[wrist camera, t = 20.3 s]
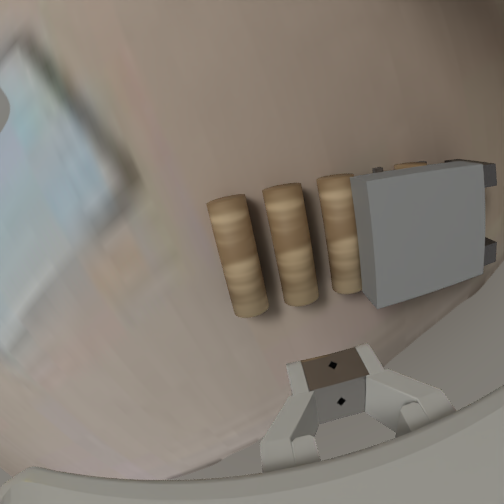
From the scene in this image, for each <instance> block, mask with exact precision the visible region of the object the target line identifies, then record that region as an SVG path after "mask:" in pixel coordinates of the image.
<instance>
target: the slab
mask: <svg viewBox="0 0 504 504" xmlns="http://www.w3.org/2000/svg"><path fill="white" fill-rule="evenodd" d="M350 183H351V190H352V197H353V204H354V211H355V219H356V228H357V236H358V246H359V256H360V266H361V278H362V292H363V293H364V294H365V295H366V296H367V298H368V299H369V300H370V301H371V302H372V304H373V305H374V306H375V307H376V308H377V309H379V308H383V307H386V306H389V305H393V304H396V303H399V302H402V301H406V300H409V299H412V298H415V297H418V296H421V295H424V294H427V293H430V292H433V291H436V290H439V289H442V288H445V287H448V286H451V285H453V284H456V283H459V282H462V281H464V280H467V279H470V278H473V277H475V276H478V275H481V274H483V267H484V250H485V188H484V172H483V164H480V163H472V162H464V161H455V162H447V163H440V164H432V165H425V166H418V167H411V168H404V169H397V170H391V171H384V172H378V173H372V174H366V175H360V176H354V177H350Z"/></svg>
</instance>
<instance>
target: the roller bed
mask: <svg viewBox="0 0 504 504" xmlns="http://www.w3.org/2000/svg"><path fill="white" fill-rule="evenodd" d="M419 162H424V163H427V162H426V161H419ZM378 172H383V168H381V167H377V168H373V173H378ZM350 177H354V174H336V175H330V176H325V177H321V178H318V179H316V180H317V186H318V192H319V197H320V203H321V210H322V216H323V222H324V229H325V235H326V242H327V249H328V257H329V264H330V272H331V280H332V288H333V290H334V291H335V292H337V293H341V294H352V293H356V292H359V291H361V290H362V278H361V266H360V256H359V246H358V236H357V228H356V219H355V211H354V204H353V197H352V190H351V183H350ZM262 192H263V197H264V202H265V206H266V211H267V216H268V221H269V226H270V231H271V236H272V241H273V246H274V251H275V256H276V261H277V266H278V271H279V276H280V281H281V286H282V291H283V297H284V301H285V303H286V304H288V305H290V306H304V305H308V304H311V303H313V302H314V301H316V300H317V299H318V297H319V292H318V285H317V278H316V271H315V265H314V258H313V252H312V245H311V239H310V233H309V227H308V221H307V215H306V209H305V204H304V198H303V193H302V187H301V183H289V184H283V185H277V186H273V187H269V188H266V189H264V190H262ZM207 208H208V212H209V216H210V220H211V224H212V228H213V232H214V236H215V240H216V244H217V248H218V252H219V256H220V260H221V264H222V268H223V271H224V275H225V279H226V283H227V286H228V290H229V294H230V298H231V301H232V305H233V309H234V312H235V315H236V316H238V317H242V318H250V317H255V316H258V315H260V314H262V313H264V312H265V311H267V309H268V308H269V302H268V298H267V293H266V289H265V284H264V279H263V275H262V270H261V266H260V261H259V256H258V252H257V247H256V243H255V238H254V234H253V229H252V224H251V220H250V215H249V211H248V206H247V202H246V197H245V194H238V195H231V196H227V197H222V198H219V199H215V200H213V201H210V202H208V203H207Z"/></svg>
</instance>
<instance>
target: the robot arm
mask: <svg viewBox="0 0 504 504" xmlns="http://www.w3.org/2000/svg"><path fill="white" fill-rule="evenodd" d="M286 367H287V372H288V377H289V382H290V387H291V392H292V396H289V397H288V399H287V400H286V402H285V404H284V406H283V407H282V409H281V411H280V412H279V414H278V416H277V417H276V419H275V420H274V422H273V424H272V425H271V427H270V428H269V430H268V432H267V433H266V435H265V436H264V438H263V440H262V441H261V443H260V450H261V460H262V471H263V473H258V474H250V475H242V476H233V477H223V478H211V479H197V480H195V479H194V480H133V479H117V478H105V477H96V476H87V475H80V474H73V473H67V472H61V471H55V470H50V469H46V468H42V467H35V466H33V467H29V468H27V469H25V470H23V471H22V472H20V473H18V474H17V475H15V476H14V477H13V478H11V479H10V480H8V481H7V482H5V483H4V484H3V485H2V486H1V487H0V504H504V385H503V386H501V387H499V388H498V389H496V390H494V391H493V392H491V393H489V394H488V395H486V396H484V397H482V398H481V399H479V400H477V401H475V402H474V403H472V404H470V405H468V406H466V407H464V408H462V409H460V410H458V411H456V409H455V408H454V407H453V405H452V404H451V402H450V401H449V399H448V398H447V397H446V395H445V394H444V392H443V391H442V390H441V389H439V388H436V387H433V386H431V385H428V384H426V383H423V382H420V381H418V380H416V379H413V378H410V377H408V376H405V375H403V374H400V373H398V372H396V371H393V370H391V369H386V370H385V369H384V368H383V366H382V364H381V363H380V361H379V359H378V358H377V356H376V355H375V353H374V351H373V350H372V348H371V347H370V345H369V344H368V343H365V344H362V345H358V346H355V347H354V348H349V349H346V350H342V351H339V352H335V353H332V354H328V355H324V356H319V357H315V358H311V359H306V360H301V362H300V361H298V362H293V363H288V364H286ZM361 412H365V413H367V414H368V415H370V416H371V417H373V418H374V419H376V420H377V421H379V422H380V423H382V424H383V425H385V426H387V427H388V428H390V429H391V430H393V431H394V432H396V436H395V438H394V439H392V440H389V441H386V442H383V443H380V444H377V445H374V446H371V447H368V448H365V449H362V450H359V451H356V452H352V453H349V454H346V455H342V456H338V457H335V458H331V459H327V460H323V461H321V459H320V456H319V452H318V448H317V445H316V441H315V434H316V432H317V429H318V427H319V424H322V423H326V422H329V421H332V420H336V419H339V418H343V417H347V416H350V415H354V414H358V413H361Z"/></svg>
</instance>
